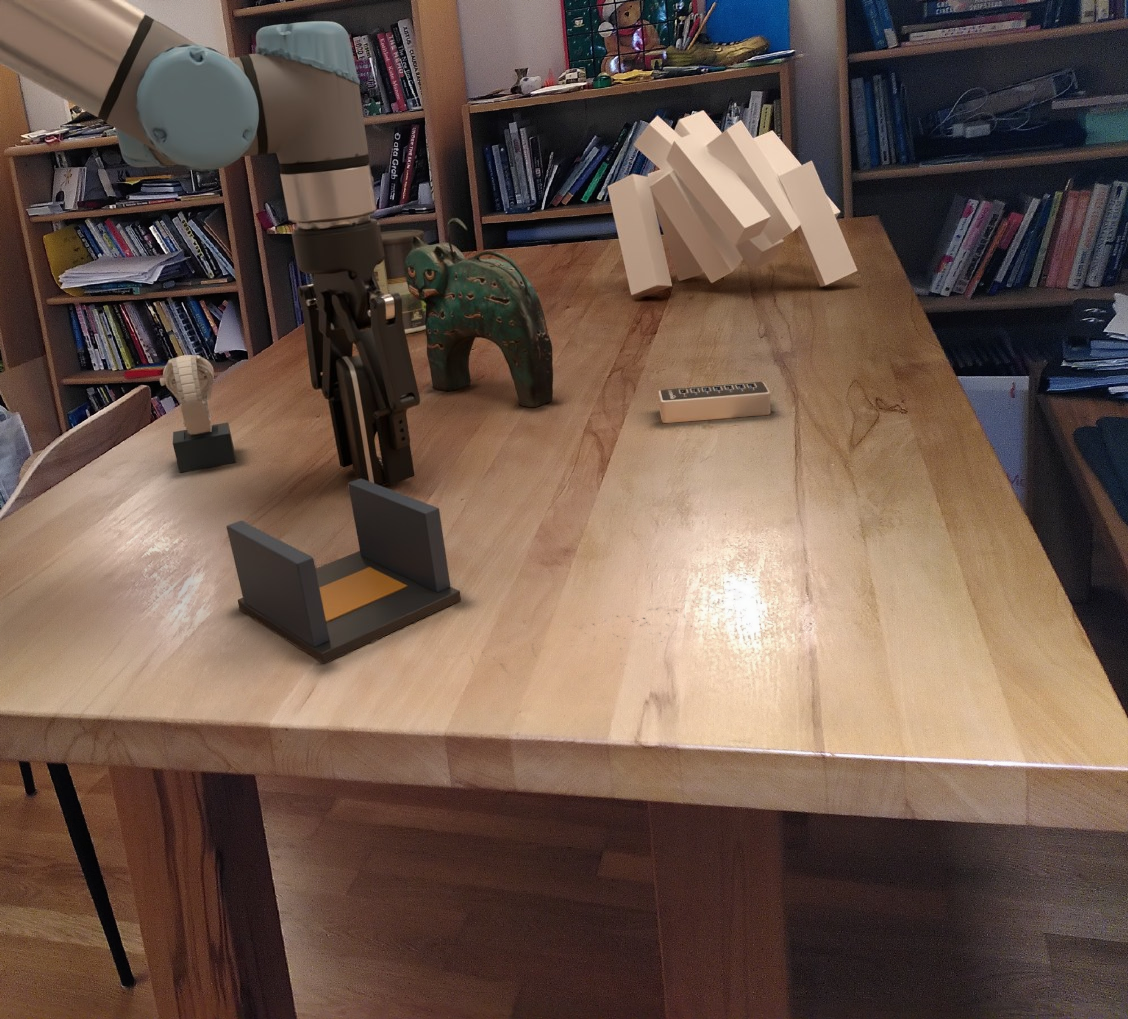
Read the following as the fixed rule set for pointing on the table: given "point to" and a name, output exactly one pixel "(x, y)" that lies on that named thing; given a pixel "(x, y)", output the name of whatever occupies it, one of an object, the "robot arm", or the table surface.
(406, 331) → the coffee can
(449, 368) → the ceramic cat
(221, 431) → the watch
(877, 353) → the table surface
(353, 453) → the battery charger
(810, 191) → the pile of blocks
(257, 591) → the cradle
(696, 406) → the multiport hub
